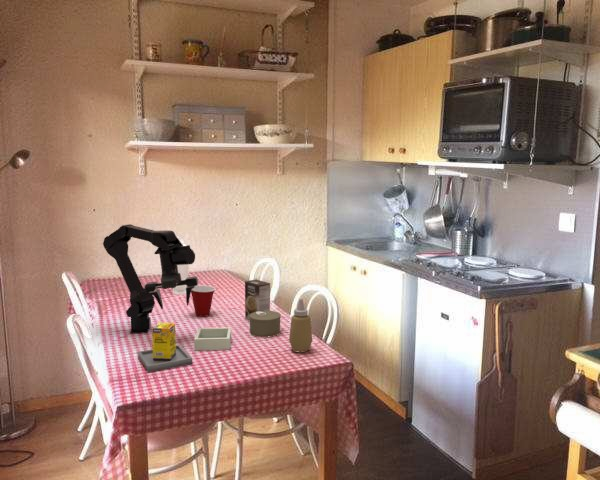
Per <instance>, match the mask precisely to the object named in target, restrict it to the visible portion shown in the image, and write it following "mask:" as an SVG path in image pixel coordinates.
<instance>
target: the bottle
mask: <svg viewBox="0 0 600 480" xmlns="http://www.w3.org/2000/svg"><path fill="white" fill-rule="evenodd" d="M176 237H177V238H178V239H179V241H180V242H181V243H182V245H183V246H187V245H188V244H186V243H185V236H182V235H177V236H176ZM177 267H178V273H180V275H181V280H186V278H187V277H190V276H189V275H190V274H189V264H188V265H177ZM186 287H187V286H186V285H181V286H176V287H175V288H171V289H172V295H177V296H180V295H181V296H183V295H186Z"/></svg>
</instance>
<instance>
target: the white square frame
mask: <svg viewBox="0 0 600 480" xmlns="http://www.w3.org/2000/svg"><path fill="white" fill-rule="evenodd" d="M231 343H232V327H199V328H197V331H196V334H195V336H194V351H226V350H228V351H229V350H230V349H231Z"/></svg>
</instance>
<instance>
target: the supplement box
mask: <svg viewBox="0 0 600 480" xmlns="http://www.w3.org/2000/svg"><path fill="white" fill-rule="evenodd" d="M151 338H152V349H153V360H159V361H171V359H172V358H173V357H174V356H175V355H176V345H177V344H176V323H175V322H158V323H156V325H154V326H153V327H151Z"/></svg>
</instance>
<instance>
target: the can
mask: <svg viewBox="0 0 600 480" xmlns="http://www.w3.org/2000/svg"><path fill="white" fill-rule="evenodd" d="M281 315H282V314H281V313H280V312H277V311H276V310H275V311H274V310H270V311H256V312H253V313H251V314H250V315H249V317H250V321H249V333H250V335H251V336H254V337H256V336H258V337H259V338H269V337H268V336H272V337H274V336H273V335H276V336H278V335H280V334H281ZM279 333H280V334H279ZM277 334H278V335H277ZM258 337H257V338H258Z"/></svg>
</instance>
